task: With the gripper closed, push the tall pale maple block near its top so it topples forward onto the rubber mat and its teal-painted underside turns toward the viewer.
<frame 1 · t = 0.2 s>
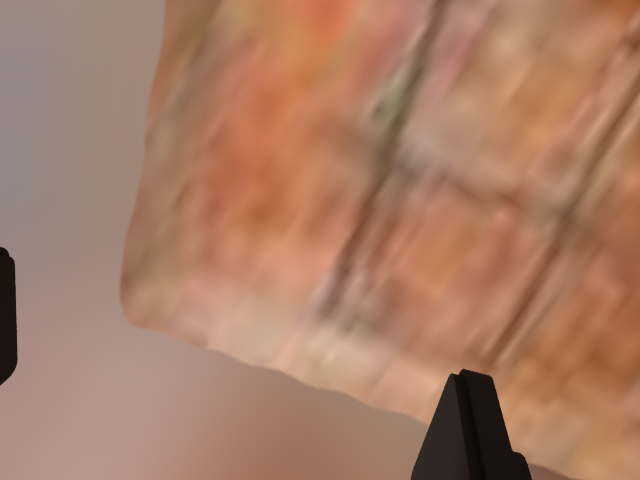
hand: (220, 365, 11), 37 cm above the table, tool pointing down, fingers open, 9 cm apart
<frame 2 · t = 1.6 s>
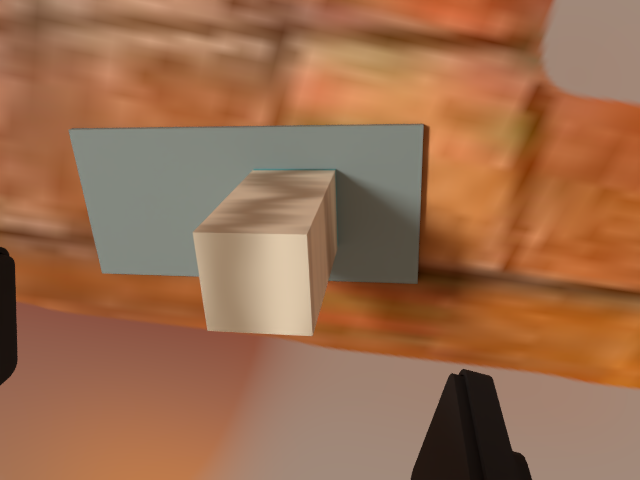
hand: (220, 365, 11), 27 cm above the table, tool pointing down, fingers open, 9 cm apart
rubber mat: (246, 205, 39), on the table
maple block: (296, 208, 38), resting on rubber mat
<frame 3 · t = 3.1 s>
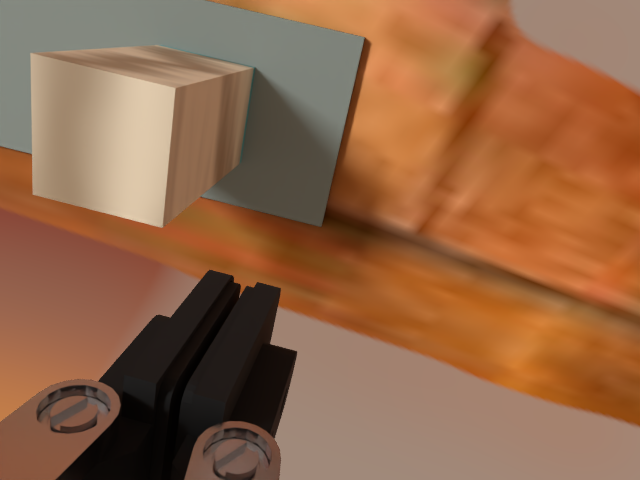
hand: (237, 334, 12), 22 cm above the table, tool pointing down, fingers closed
rubber mat: (145, 90, 33), on the table
maple block: (202, 105, 32), resting on rubber mat
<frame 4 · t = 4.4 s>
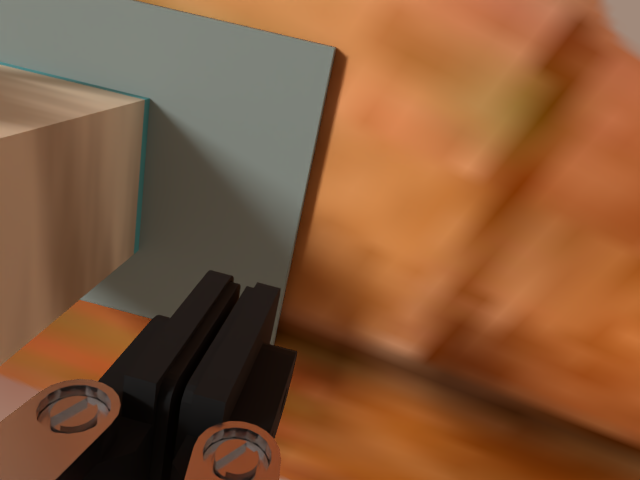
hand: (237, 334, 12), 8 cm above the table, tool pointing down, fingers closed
maple block: (68, 159, 19), resting on rubber mat
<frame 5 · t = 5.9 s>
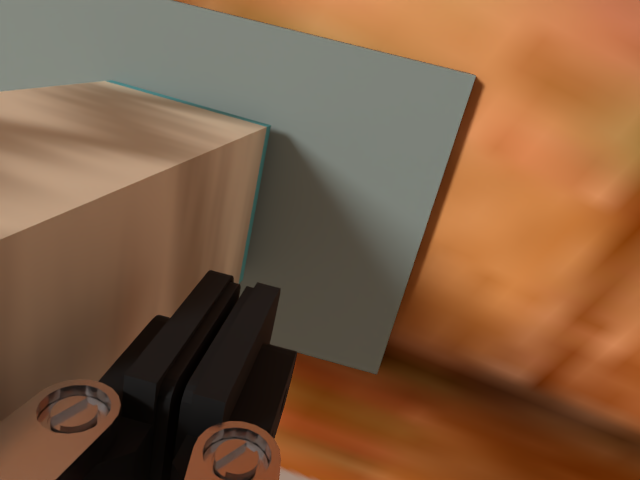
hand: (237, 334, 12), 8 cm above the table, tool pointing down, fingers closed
rubber mat: (89, 152, 20), on the table
maple block: (179, 184, 19), point 1 cm above the table, tilted 6°, touching gripper, rubber mat
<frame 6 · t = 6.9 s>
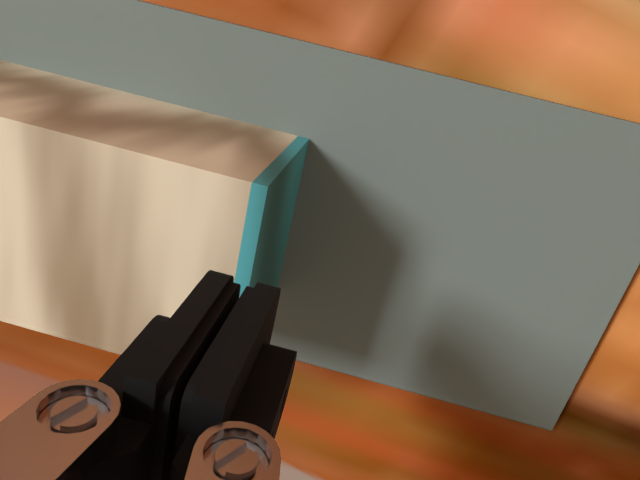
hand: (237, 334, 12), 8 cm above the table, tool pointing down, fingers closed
rubber mat: (269, 207, 19), on the table
maple block: (273, 250, 16), point 3 cm above the table, tilted 90°, touching rubber mat
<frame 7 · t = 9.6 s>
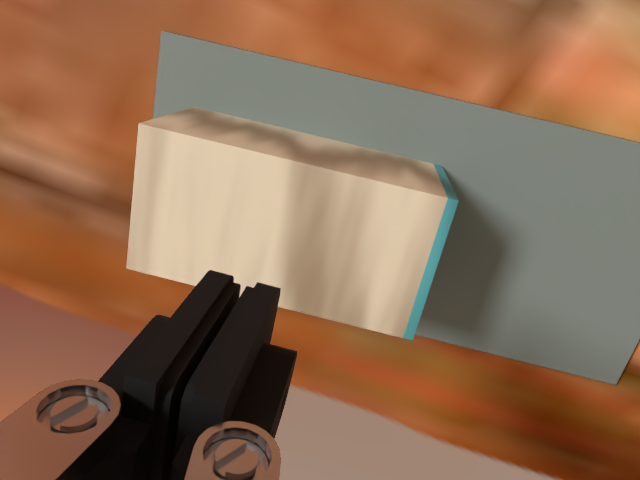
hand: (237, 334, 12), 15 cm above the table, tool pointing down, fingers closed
rubber mat: (403, 216, 26), on the table
maple block: (428, 246, 22), point 3 cm above the table, tilted 90°, touching rubber mat
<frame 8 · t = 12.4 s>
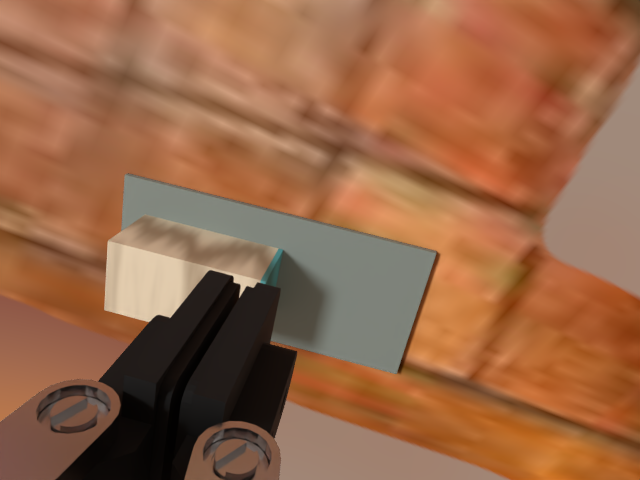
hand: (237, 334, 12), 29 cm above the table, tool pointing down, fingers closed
rubber mat: (267, 275, 44), on the table
maple block: (268, 297, 41), point 3 cm above the table, tilted 90°, touching rubber mat
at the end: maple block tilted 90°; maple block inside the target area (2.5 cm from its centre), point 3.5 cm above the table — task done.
